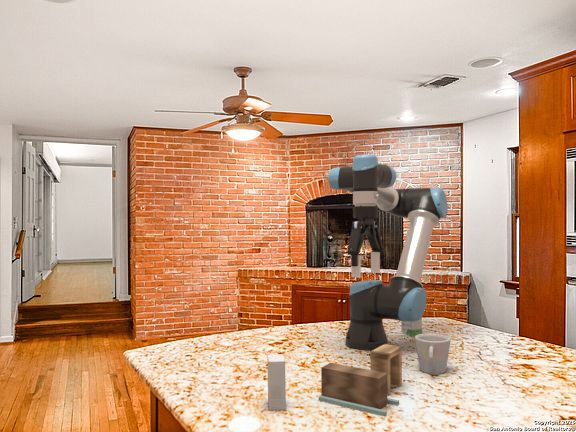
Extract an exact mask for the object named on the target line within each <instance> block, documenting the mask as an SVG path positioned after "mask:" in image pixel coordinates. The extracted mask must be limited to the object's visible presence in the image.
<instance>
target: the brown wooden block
mask: <svg viewBox="0 0 576 432" xmlns="http://www.w3.org/2000/svg"><path fill="white" fill-rule="evenodd" d="M320 370H321V371H320V372H321V373H320V374H321V378H320V379H321V382H320V383H321V384H320V387H321V390H320V392H321V395H320V396H325V397H330V398H334V399H338V400H343V401H347V402H351V403H356V404H360V405H364V406H368V407H373V408H377V409H381V410H384V408H385V407H387V405H388V403H387V398H388V396H387V373H384V372H379V371H373V370H370V369H367V368H361V367H357V366H356V367H355V366H351V365H350V366H349V365H345V364H342V363H341V364H340V363H334V362H329V363H327V364H326V365H324V366H322V367H320Z"/></svg>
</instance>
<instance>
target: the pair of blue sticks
mask: <svg viewBox="0 0 576 432" xmlns="http://www.w3.org/2000/svg"><path fill="white" fill-rule="evenodd" d="M319 400H320V401H319ZM318 401H319V402H323V401H324V402H323V403H327V402H328V403H327V404H331V403H332V405H335V404H336V406H340V407H344V408H349V409H352V410H353V409H354V410H357V411H361V412H366V413H369V414H373V415H377V416H383V417H386V416H387V415H388V411H387V410H385V409H382V410H381V409H377V408H373V407H368V406H364V405H360V404H356V403H351V402H347V401H343V400H338V399H334V398H330V397H325V396H322V395H319V396H318ZM388 404H389V405H393V406H396V407H397V406H399V405H400V400H398V399H393V398H389V397H387V405H388Z"/></svg>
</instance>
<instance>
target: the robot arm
mask: <svg viewBox="0 0 576 432" xmlns="http://www.w3.org/2000/svg"><path fill="white" fill-rule="evenodd" d="M396 180H397V172H396V170H395V168H393V166H391V165H388V164H383V163H379V160H378V156H377V155H376V154H358V155H355V156H353V159H352V165H351V166H338V167H333V168H332V169H330V170H329V172H328V177H327V181H328V182H327V183H328V185H329V187H330V188H331V189H332V190H338V191H341V190H345V191H347V192H350V193H351V194H352V205H354V206H353V208H352V217H353V219H357V221H352V222H351V232H350V236H349V239H348V246H347V249H346V253H347V256H350V257H351V258H350V259H351V260H350V261H351V262H350V263H351V267H350V268H351V269H350V271H351V278H356V279H357V278H362V272H361V271H362V265H361V264H362V262H361V261H362V260H361V259H362V258H361V254H360V252H361V249H362V246H363V243H364V241H365V239H366V238H367V241H368V244H369V246H370V249H371V252H370V273H373V274H375V273H376V274H380V273H381V266H380V265H381V259H380V258H381V257H380V253H382V252H384V249H383V247H384V246H383V241H382V237H381V234H380V233H381V232H380V228H379V221H378V220H374V219H378V218H379V210H381V211H382V212H385V213H387V214H390V215H392V216H396V217H398V218H404V219H408V221H410V222H409V225H408V229H407V233H406V237H405V240H404V245H403V248H402V252H401V254H400V259H399V263H398V267H397V270H396V274H395V275H393V276H391V278H390V279H389V282H388V284H384V282H383V280H382V279H369V280H361V281H356V282H353V283H351V284H350V287H349V326H348V328H347V332H346V335H345V345H346V347H348V348H351V349H355V350H363V351H373V350H374V349H376V348H378V347H380V346H382V345H384V344H389V343H388V341H389V340H388V339H389V338H388V335H387V333H386V330H385V327H384V324H383V319H387V320H392V321H393V320H395V321H400V322H401V321H404V322H406V321H410V322H414V321H417V320H418V319H420V318H421V316H422V317H423V315H424V313H425V310H426V307H427V299H428V298H427V292H426V290H425V289H424V285H423V284H422V282H421V279H422V276H423V270H424V267H425V264H426V259H427V255H428V251H429V248H430V243H431V240H432V234H433V231H434V228H435V227H437V226H438V225H439V223H440V220H441V219H444V218H446V217H447V216H448V213H449V206H448V198H447V196H446V193H445V191H444V189H442V188H441V187H432V186H430V187H414V188H410V187H409V188H394V187H392V186H393V185H394V184H395V183H396Z"/></svg>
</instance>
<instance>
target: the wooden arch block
mask: <svg viewBox="0 0 576 432" xmlns="http://www.w3.org/2000/svg"><path fill="white" fill-rule="evenodd" d="M402 347H403V346H400V345H393V344H389V343H388V344H384V345H382V346H380V347H378V348H376V349H374V350H370V352H369V354H370V355H369V357H370V359H369V361H370V369H369V370H373V371H379V372H384V373H387V397H388V396H390V395H391V392H392V391H391V386H395V387H401V386H403V367H402V366H403V360H402V359H403V357H402V356H403V354H402V353H403V352H402Z"/></svg>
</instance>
